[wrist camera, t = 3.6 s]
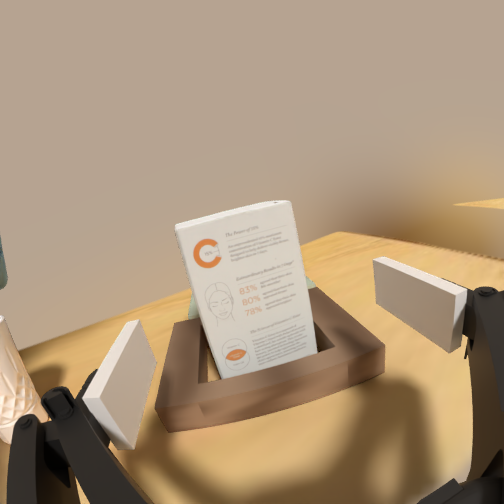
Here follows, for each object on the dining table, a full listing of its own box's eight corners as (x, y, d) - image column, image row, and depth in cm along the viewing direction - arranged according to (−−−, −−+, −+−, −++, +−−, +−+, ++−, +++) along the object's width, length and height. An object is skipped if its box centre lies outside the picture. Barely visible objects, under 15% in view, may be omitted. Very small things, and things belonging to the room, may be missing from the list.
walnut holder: (168, 432, 16) (154, 408, 16) (181, 342, 30) (174, 322, 29) (384, 372, 18) (385, 345, 17) (319, 306, 31) (316, 286, 31)
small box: (290, 330, 28) (263, 200, 25) (320, 359, 22) (293, 198, 19) (212, 357, 26) (173, 223, 23) (225, 395, 20) (173, 228, 17)
